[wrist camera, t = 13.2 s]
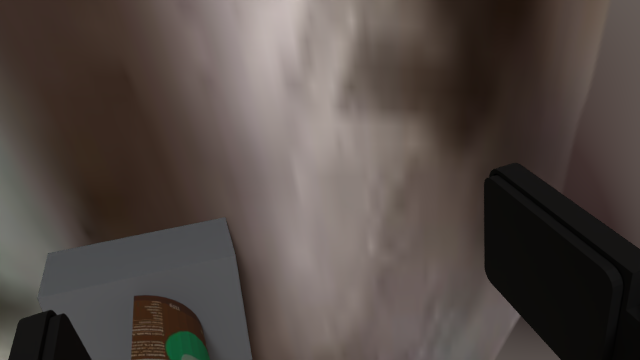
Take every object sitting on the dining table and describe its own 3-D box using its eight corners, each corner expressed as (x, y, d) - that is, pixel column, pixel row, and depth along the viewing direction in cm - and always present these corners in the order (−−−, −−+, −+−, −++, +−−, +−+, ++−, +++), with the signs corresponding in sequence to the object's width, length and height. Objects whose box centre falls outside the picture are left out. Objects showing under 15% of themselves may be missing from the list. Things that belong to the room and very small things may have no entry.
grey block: (224, 214, 46) (235, 255, 41) (244, 334, 53) (255, 381, 48) (48, 250, 43) (37, 298, 38) (94, 372, 50) (89, 427, 45)
